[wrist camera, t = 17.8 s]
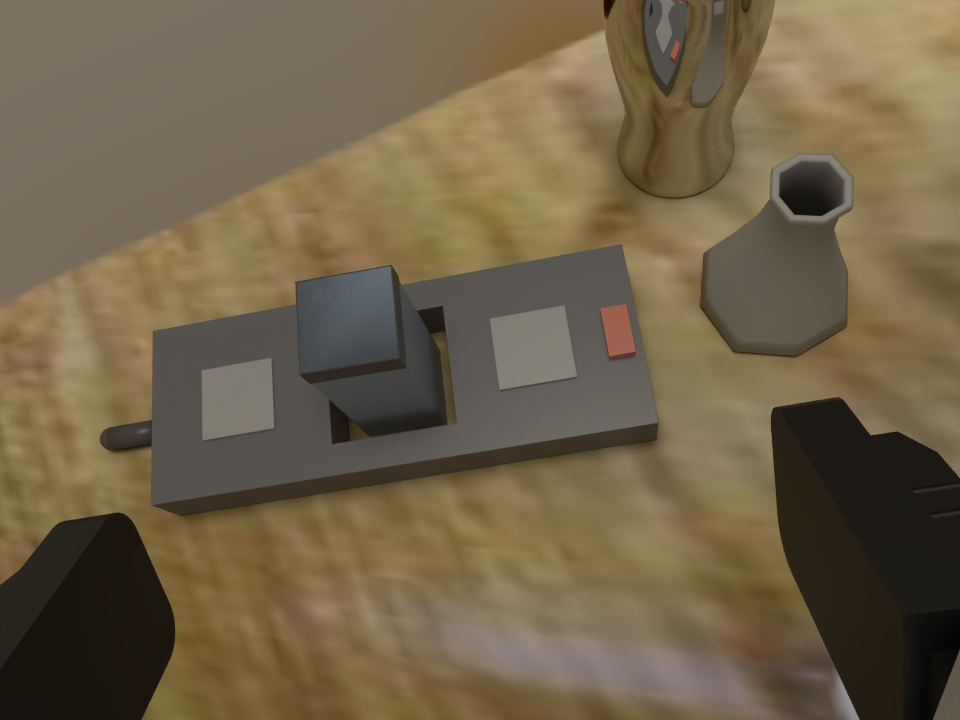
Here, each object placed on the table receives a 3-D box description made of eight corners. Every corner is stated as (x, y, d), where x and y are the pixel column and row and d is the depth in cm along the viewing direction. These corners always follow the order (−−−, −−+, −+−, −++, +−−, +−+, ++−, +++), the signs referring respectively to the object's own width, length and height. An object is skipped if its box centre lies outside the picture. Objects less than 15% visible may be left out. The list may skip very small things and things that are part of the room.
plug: (440, 349, 45) (391, 265, 36) (448, 425, 44) (399, 358, 34) (363, 361, 45) (295, 281, 36) (369, 437, 44) (299, 374, 35)
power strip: (622, 270, 45) (621, 239, 42) (656, 439, 42) (658, 419, 38) (110, 364, 48) (72, 341, 45) (105, 528, 45) (64, 516, 41)
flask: (720, 374, 42) (745, 290, 33) (680, 244, 45) (694, 132, 36) (871, 341, 42) (940, 246, 32) (822, 210, 44) (874, 88, 35)
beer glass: (601, 201, 46) (588, -2, 32) (618, 90, 48) (613, -145, 35) (736, 211, 45) (784, 4, 31) (748, 97, 47) (797, -146, 33)
